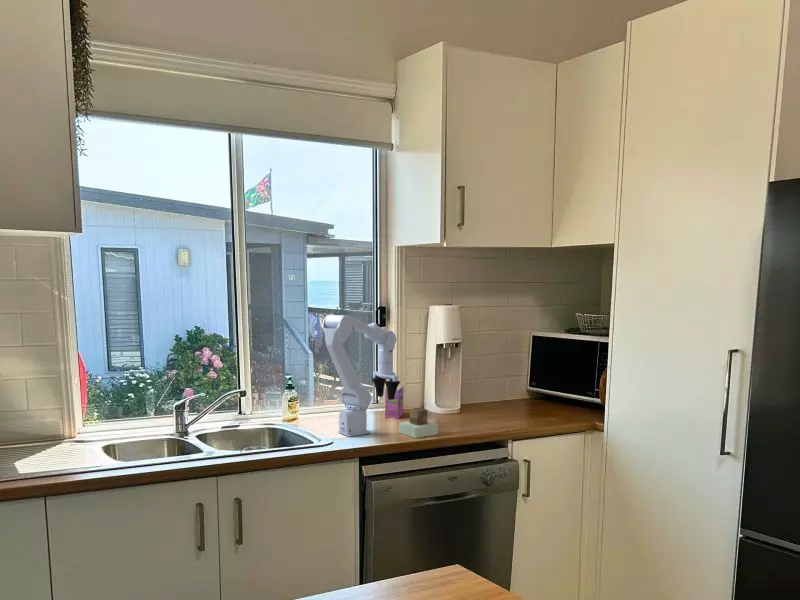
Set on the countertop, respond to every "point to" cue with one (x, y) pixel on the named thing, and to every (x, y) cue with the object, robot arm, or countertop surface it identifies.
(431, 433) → the base block
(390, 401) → the box
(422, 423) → the walnut block
